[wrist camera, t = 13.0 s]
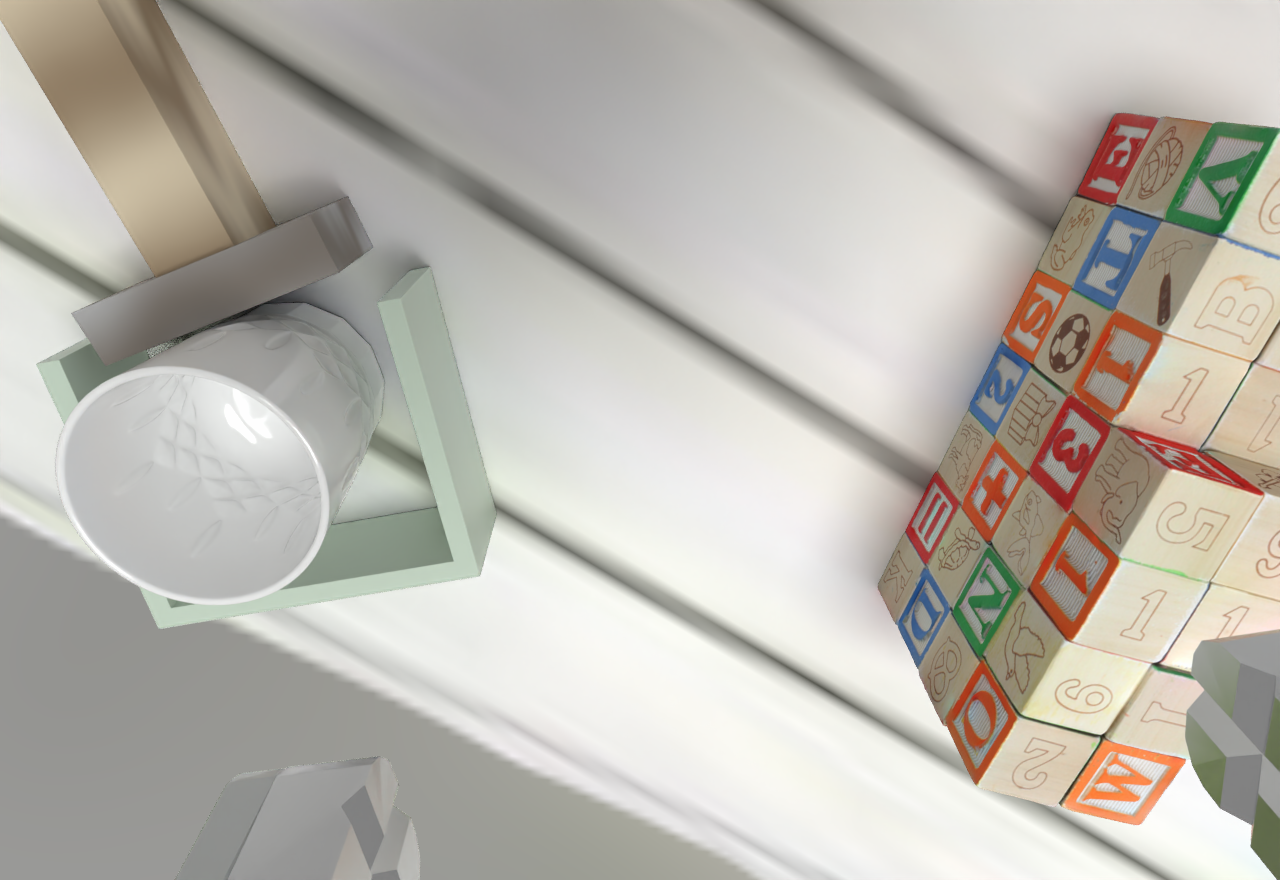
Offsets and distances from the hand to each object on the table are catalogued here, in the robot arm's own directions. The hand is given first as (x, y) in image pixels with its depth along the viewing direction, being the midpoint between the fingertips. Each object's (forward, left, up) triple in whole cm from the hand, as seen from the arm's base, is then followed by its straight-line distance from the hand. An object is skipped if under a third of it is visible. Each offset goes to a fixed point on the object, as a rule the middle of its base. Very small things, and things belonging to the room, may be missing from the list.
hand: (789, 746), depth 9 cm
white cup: (+3, -15, -27) cm, 31 cm away
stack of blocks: (+9, +15, -27) cm, 32 cm away
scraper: (-9, -17, -27) cm, 33 cm away
